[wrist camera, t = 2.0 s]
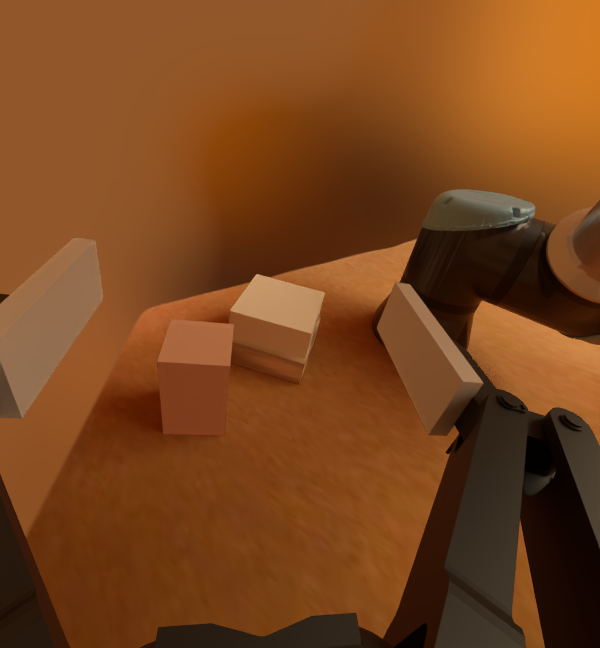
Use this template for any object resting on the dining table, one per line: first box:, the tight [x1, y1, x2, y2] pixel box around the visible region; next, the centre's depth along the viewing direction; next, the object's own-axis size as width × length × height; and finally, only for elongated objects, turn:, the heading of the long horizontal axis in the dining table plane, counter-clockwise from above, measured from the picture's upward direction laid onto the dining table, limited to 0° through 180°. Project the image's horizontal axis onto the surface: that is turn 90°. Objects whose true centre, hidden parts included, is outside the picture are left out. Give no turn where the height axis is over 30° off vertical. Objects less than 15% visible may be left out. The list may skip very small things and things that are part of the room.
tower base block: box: [231, 316, 322, 384], centre depth 47 cm, size 11×11×4 cm
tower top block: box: [229, 274, 325, 359], centre depth 45 cm, size 10×10×4 cm
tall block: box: [157, 319, 234, 435], centre depth 34 cm, size 6×6×10 cm
